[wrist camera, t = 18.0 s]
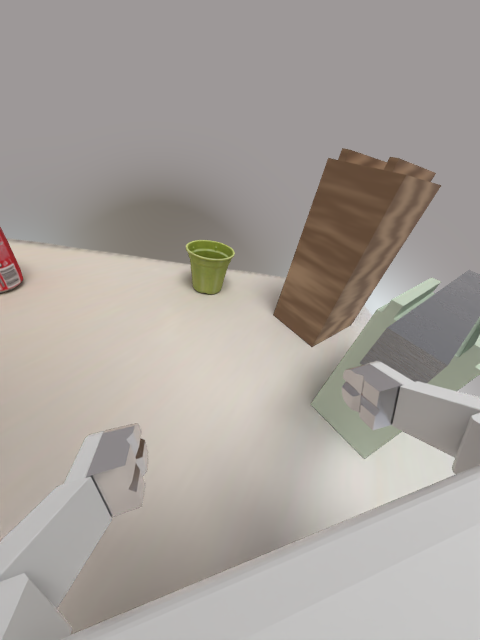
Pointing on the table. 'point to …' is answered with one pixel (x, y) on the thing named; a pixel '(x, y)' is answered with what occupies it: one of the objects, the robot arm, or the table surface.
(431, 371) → the bar
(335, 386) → the block
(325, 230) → the walnut stand
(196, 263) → the plant pot
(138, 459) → the robot arm
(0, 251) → the soda can
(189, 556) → the table surface
